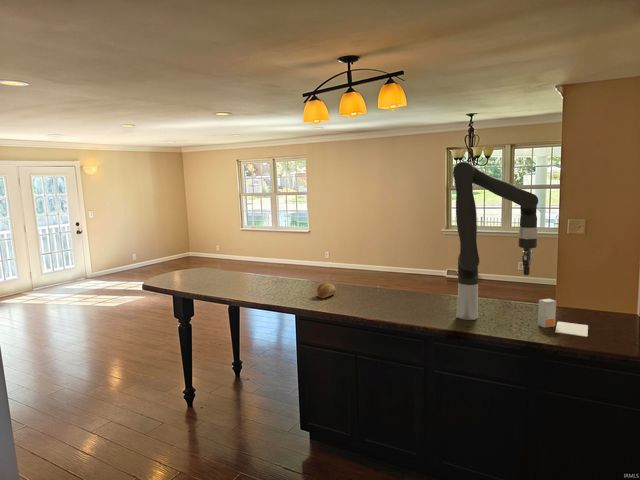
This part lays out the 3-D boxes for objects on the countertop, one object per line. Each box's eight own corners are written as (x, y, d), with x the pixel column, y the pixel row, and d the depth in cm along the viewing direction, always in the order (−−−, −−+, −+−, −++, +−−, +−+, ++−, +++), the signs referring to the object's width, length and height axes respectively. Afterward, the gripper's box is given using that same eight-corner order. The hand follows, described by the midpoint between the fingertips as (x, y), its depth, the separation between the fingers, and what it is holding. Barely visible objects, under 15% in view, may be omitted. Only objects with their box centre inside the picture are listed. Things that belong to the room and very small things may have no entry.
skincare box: (544, 328, 193) (545, 302, 191) (537, 325, 197) (538, 299, 195) (555, 326, 195) (556, 300, 193) (548, 323, 199) (549, 298, 197)
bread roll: (313, 298, 253) (312, 285, 252) (325, 292, 266) (324, 280, 265) (327, 300, 248) (327, 286, 247) (339, 294, 261) (338, 281, 260)
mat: (555, 332, 187) (555, 331, 187) (557, 322, 200) (557, 321, 200) (587, 337, 181) (587, 336, 180) (587, 326, 194) (588, 325, 194)
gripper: (520, 235, 203) (519, 271, 205) (516, 238, 192) (515, 276, 194) (538, 235, 199) (537, 272, 201) (535, 239, 188) (533, 278, 190)
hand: (526, 274), depth 198 cm, fingers closed
